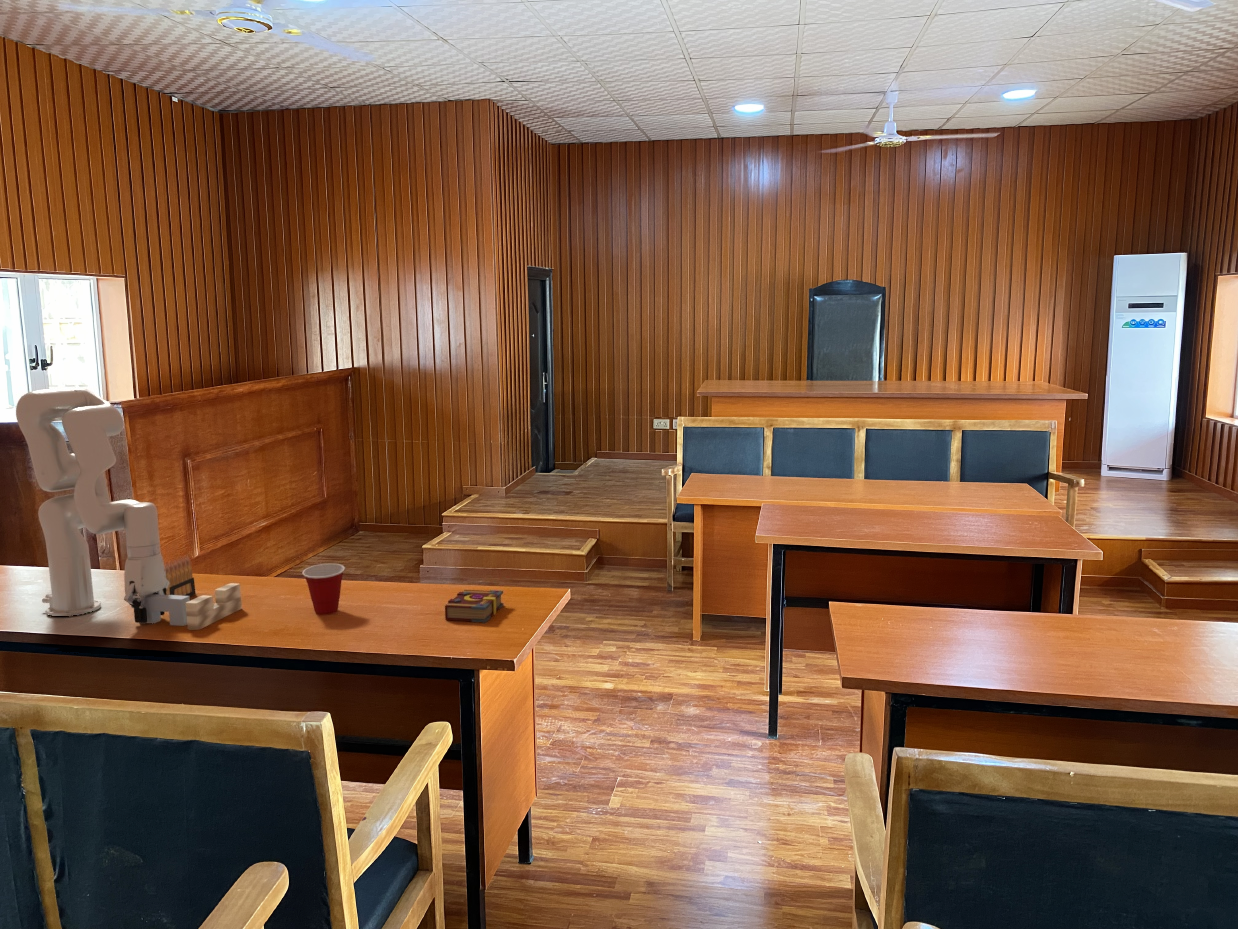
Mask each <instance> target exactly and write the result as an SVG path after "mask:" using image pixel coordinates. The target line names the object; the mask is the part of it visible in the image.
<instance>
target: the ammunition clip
mask: <svg viewBox="0 0 1238 929" xmlns="http://www.w3.org/2000/svg"><path fill="white" fill-rule="evenodd" d="M165 572H166V579H167V580H168V581H169V582H170V584H169V586H168V588H167V591H166V593H165V595H180V596H190V598H191V597H193V596H195V595H196V585H195V577H193V569H192V563H191V558H190V556H189V554H186V557H185V555H183V556H182V559H181V557H178V559H176V558H174V561H172V560H170V562H166V563H165Z"/></svg>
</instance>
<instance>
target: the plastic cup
mask: <svg viewBox="0 0 1238 929" xmlns="http://www.w3.org/2000/svg"><path fill="white" fill-rule="evenodd" d="M345 569H346V567H345V566H344V565H343V564H339V563H330V562H329V563H320V564H314V565H312V566H309V567H307V568H305V569H303V570H302V573H301V574H302V575H303V576H304V578H305V581H306V583H307V589H308V592H309V596H310V599H311V602H312V605H313V611H314V612H315V614H316V615H319V616H320V615H321V616H327V615H332V614H335V613H336V612H338V610H339V605H340V604H339V602H340V598H341V591H342V589H341V587H342V580H343V575H344V572H345Z"/></svg>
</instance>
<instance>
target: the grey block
mask: <svg viewBox="0 0 1238 929" xmlns="http://www.w3.org/2000/svg"><path fill="white" fill-rule="evenodd" d="M190 598H191V597H190V596H180V595H160V594H150V595H147V596H146V597H145V603H144V607H146V612H147V622H146V623H152V624H151V625H154V624H156V623H158V622H161V621H162V615H161V614H160V611H163V612H164V613H167V612H168V615H169V616H168V617H169V626H178V627H179V626H182V627H183V626H184V627H185V626H187V615H186V602H188V601H191V599H190ZM137 601H138V602H140V598H138V599H137ZM160 620H161V621H160ZM153 623H154V624H153Z"/></svg>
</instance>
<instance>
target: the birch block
mask: <svg viewBox="0 0 1238 929" xmlns="http://www.w3.org/2000/svg"><path fill="white" fill-rule="evenodd" d="M214 598H215V603H214ZM239 610H243V609H242V595H241V584H240V583H236V582H235V583H233V582H231V583H227V584H225V585H223V586H220V587H218V588H216V589H214V596H213V595H205V594H204V595H203V594H202V595H200V596H198V597H196V598H194V599H190V601H188V602H186V615H187V625H186V626H187V630H189V631H199V630H202V629H203V628H205V627H207V626H209V625H212V624H214V623H215V622H217V621H220V620H222V619H224V618H225V617H228V616H230V615H232V614H234V613H236V612H238V611H239Z"/></svg>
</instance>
